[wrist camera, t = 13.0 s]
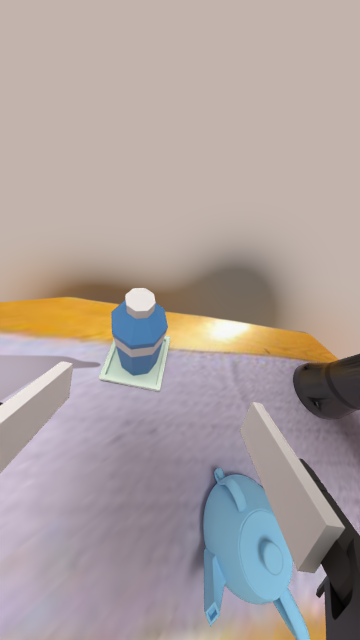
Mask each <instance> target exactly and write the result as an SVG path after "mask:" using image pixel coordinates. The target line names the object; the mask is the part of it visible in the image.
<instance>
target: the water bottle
mask: <svg viewBox="0 0 360 640" xmlns="http://www.w3.org/2000/svg"><path fill="white" fill-rule="evenodd" d="M111 313H112V334H113V337H114V341H115V345H116V348H117V352H118V355H119V359H120V363H121V366H122V368H123V369H125V370H126V371H127V372H129V373H130V374H131V375H133V376H136V375H142V374H148V373H149V372H150V370H151V369H152V368H153V366H154V365H155V364H156V362H157V360H158V356H159V353H160V350H161V347H162V344H163V341H164V337H165V334H166V331H167V328H168V326H167V321H166V315H165V311H164V308H162V307H161V306H159V305H158V304H156V303H155V298H154V294H153V293H151V292H150V291H148V290H147V289H145V288H134V289H132V290H131V291H130V292H129V293H127V294H126V300H125V301H124V302H123V303H121V304H120V305H119V306H118V307H117V308H116V309H115V310H113V311H112V312H111Z"/></svg>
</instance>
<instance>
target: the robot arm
mask: <svg viewBox="0 0 360 640" xmlns="http://www.w3.org/2000/svg"><path fill="white" fill-rule="evenodd" d="M72 369H73V364H72V363H68V362H63V361H62V362H60V363H59V364H58V365H56V366H55V367H53V368H52V369H50V370H49V371H48V372H46V373H45V374H44V375H42V376H41V377H39V378H38V379H37V380H35V381H34V382H32V383H31V384H30V385H28V386H27V387H25V388H24V389H23V390H21V391H20V392H19V393H17V394H16V395H14V396H13V397H12V398H10V399H9V400H7V401H6V402H5V403H0V473H1V472H2V471H3V470H4V469H5V468H6V467H7V465H8V464H9V463H10V462H11V461H12V460H13V459H14V458H15V457H16V456H17V454H18V453H19V452H20V451H21V450H22V449H23V448H24V447H25V446H26V444H27V443H28V442H29V441H30V440H31V439H32V438H33V437H34V436H35V435H36V433H37V432H38V431H39V430H40V429H41V428H42V427H43V426H44V425H45V423H46V422H47V421H48V420H49V419H50V418H51V417H52V416H53V415H54V414H55V412H56V411H57V410H58V409H59V408H60V407H61V406H62V405H63V404H64V402H65V401H66V400H67V399H68V398H69V394H70V386H71V377H72ZM294 387H295V390H296V392H297V395H298V397H299V398H300V400H301V401H302V403H303V404H304V405H305V406H306V408H307V409H308V410H310V411H311V412H312V413H313V414H315V415H317V416H318V417H321V418H324V419H338V418H341V417H343V416H345V415H348V414H350V413H352V412H354V411H356V410H360V354H357V355H354V356H351V357H347V358H344V359H341V360H337V361H334V362H331V363H307V364H304V365H301V366H299V367H298V368H297V369H296V370H295V373H294ZM240 433H241V435H242V438H243V440H244V442H245V445H246V447H247V450H248V452H249V455H250V457H251V459H252V462H253V464H254V467H255V469H256V472H257V474H258V476H259V479H260V481H261V484H262V486H263V488H264V491H265V493H266V496H267V498H268V501H269V503H270V505H271V508H272V510H273V513H274V515H275V518H276V520H277V522H278V525H279V527H280V530H281V532H282V535H283V537H284V539H285V542H286V544H287V547H288V549H289V552H290V554H291V556H292V559H293V561H294V564H295V566H296V569H297V571H303V572H310V573H315V572H316V570H317V569H318V567H319V566H320V564H322V566H323V568H324V570H325V572H326V574H327V576H326V577H325V579H324V580H323V582H322V583H321V584H320V586H319V587H318V589H317V593H316V595H317V596H318V597H319V598H320V597H321V595H322V594H323V593H324V592H325V616H326V640H360V536H359V534H358V533H357V532H356V530H355V529H354V527H353V526H352V525H351V523H350V522H349V520H348V519H347V518H346V516H345V515H344V513H343V512H342V511H341V509H340V508H339V506H338V505H337V503H336V502H335V501H334V499H333V498H332V496H331V495H330V494H329V493H328V492H327V489H326V488H325V487H324V485H323V484H322V483H321V482H320V479H319V478H318V477H317V475H316V474H315V472H314V471H313V470H312V469H311V468H310V467H309V466H308V464H307V463H306V462H305V461H304V460H303V459H299V458H298V457H297V456H296V454H295V453H294V451H293V450H292V448H291V447H290V445H289V444H288V442H287V441H286V439H285V438H284V436H283V435H282V433H281V432H280V430H279V429H278V428H277V426H276V425H275V423H274V422H273V420H272V419H271V417H270V416H269V414H268V413H267V411H266V410H265V408H264V407H263V405H262V404H261V403H256V402H251V405H250V407H249V410H248V412H247V415H246V417H245V420H244V422H243V424H242V427H241V429H240Z"/></svg>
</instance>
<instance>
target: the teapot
mask: <svg viewBox="0 0 360 640" xmlns="http://www.w3.org/2000/svg"><path fill="white" fill-rule="evenodd" d="M214 475H215V479H216V481H217V484H216V485H215V486H214V488H213V489H212V491H211V493H210V495H209V497H208V499H207V503H206V506H205V511H204V522H203V529H204V540H205V545H206V548H205V550H204V611H205V614H206V617H207V619H208V622H209V624H210V626H211V625H212V624H213V623H214V622H215V620H216V619H217V618H218V617H219V616H220V607H221V601H222V595H223V589H224V585H225V586H226V587H227V588H228V589H229V590H230V591H231V592H232V593H233V594H235V595H236V596H237V597H239V598H240V599H242V600H244V601H246V602H249V603H252V604H266V603H270V602H273V603H274V604H275V606H276V608H277V610H278V611H279V613H280V615H281V616H282V618H283V620H284V621H285V623H286V625H287V626H288V628H289V629H290V631H291V632H292V634H293V635H294V637H295V638H296V640H310V638H309V633H308V629H307V627H306V624H305V622H304V620H303V617H302V615H301V613H300V611H299V609H298V607H297V605H296V603H295V601H294V599H293V597H292V595H291V593H290V591H289V589H288V585H289V583H290V579H291V575H292V567H293V559H292V556H291V554H290V552H289V549H288V547H287V544H286V542H285V539H284V537H283V535H282V532H281V530H280V527H279V525H278V522H277V520H276V518H275V515H274V513H273V510H272V508H271V505H270V503H269V501H268V498H267V496H266V493H265V491H264V489H263V488H262V487H261V486H260V485H259V484H257V483H256V482H255V481H254V480H252V479H250V478H249V477H247V476H244V475H240V474H232V475H229V476H226V477H225V475H224V472H223V470H222V469H221V468H217V469H216V470H215V472H214Z"/></svg>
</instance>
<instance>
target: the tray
mask: <svg viewBox="0 0 360 640" xmlns="http://www.w3.org/2000/svg"><path fill="white" fill-rule="evenodd" d="M169 342H170V337H169V336H165V337H164V341H163V344H162V347H161V350H160V353H159V356H158V360H157V362H156V364H155V365H154V366H153V368H152V369H151V370H150V372H149V373H148V374H142V375H136V376H133V375H131V374H130V373H129V372H127V371H126V370H125V369H123V368H122V366H121V363H120V359H119V355H118V352H117V348H116V345H115V341H114V340H113V343H112V345H111V348H110V350H109V353H108V356H107V358H106V361H105V363H104V366H103V368H102V371H101V373H100V376H99V379H100V380H102V381H107V382H112V383H117V384H122V385H127V386H132V387H137V388H142V389H147V390H152V391H157V392H159V391H160V387H161V382H162V377H163V372H164V367H165V362H166V357H167V352H168V347H169Z"/></svg>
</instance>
